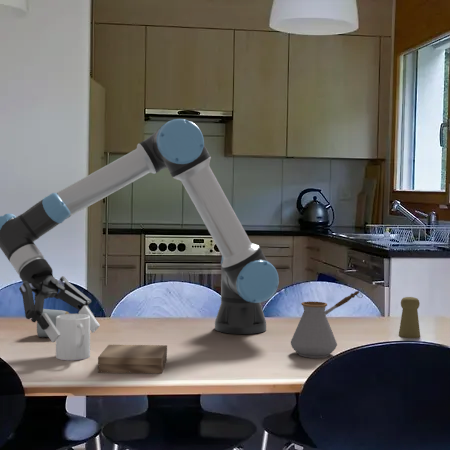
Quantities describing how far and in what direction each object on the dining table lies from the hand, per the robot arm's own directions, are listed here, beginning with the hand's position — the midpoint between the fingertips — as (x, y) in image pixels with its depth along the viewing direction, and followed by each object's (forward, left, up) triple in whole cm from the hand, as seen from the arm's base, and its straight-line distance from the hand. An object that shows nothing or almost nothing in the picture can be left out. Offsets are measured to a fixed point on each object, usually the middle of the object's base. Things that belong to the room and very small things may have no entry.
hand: (77, 333), depth 166 cm
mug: (+1, -1, -6) cm, 6 cm away
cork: (-87, -33, -6) cm, 94 cm away
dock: (-14, +6, -6) cm, 17 cm away
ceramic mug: (+13, -27, -6) cm, 31 cm away
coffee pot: (-61, -11, -6) cm, 63 cm away
